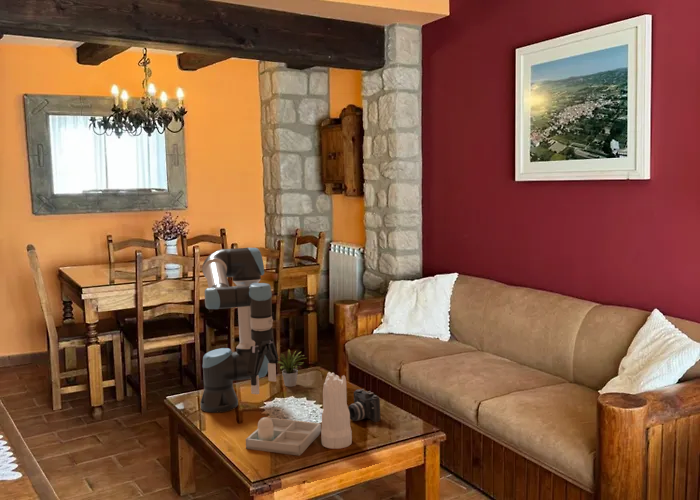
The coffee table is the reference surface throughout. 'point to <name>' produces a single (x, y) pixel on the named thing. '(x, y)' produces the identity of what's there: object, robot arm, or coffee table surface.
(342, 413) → the decorative vase
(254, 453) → the coffee table surface
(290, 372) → the house plant
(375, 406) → the camera
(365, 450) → the coffee table surface
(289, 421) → the divided tray
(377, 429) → the coffee table surface
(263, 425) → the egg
